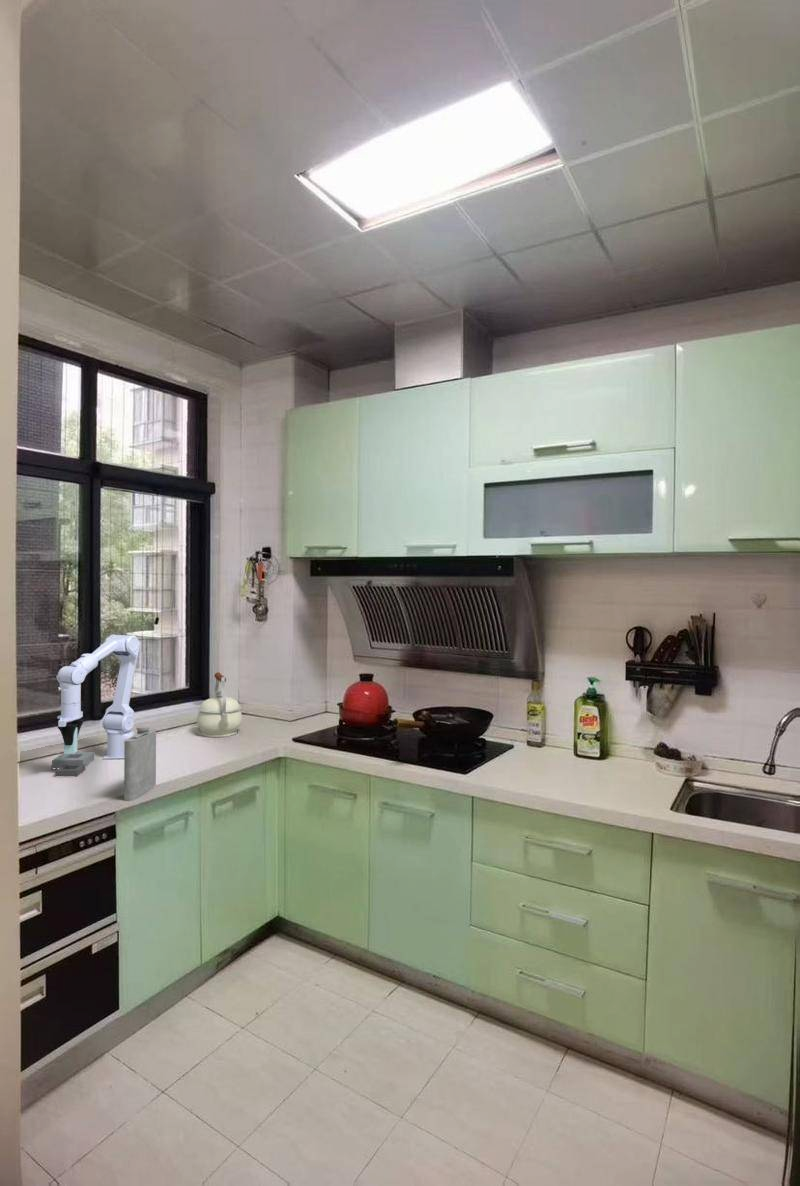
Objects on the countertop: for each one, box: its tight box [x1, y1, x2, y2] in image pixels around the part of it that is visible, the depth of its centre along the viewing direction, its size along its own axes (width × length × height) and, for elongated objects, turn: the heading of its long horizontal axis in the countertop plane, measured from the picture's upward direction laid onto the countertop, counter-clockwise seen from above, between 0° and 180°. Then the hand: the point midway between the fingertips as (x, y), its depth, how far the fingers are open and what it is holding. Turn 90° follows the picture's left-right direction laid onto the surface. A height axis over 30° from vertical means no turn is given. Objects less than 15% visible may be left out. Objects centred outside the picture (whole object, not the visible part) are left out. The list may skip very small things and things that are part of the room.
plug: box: [63, 727, 78, 754], centre depth 206 cm, size 3×3×9 cm
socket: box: [51, 751, 95, 769], centre depth 216 cm, size 10×10×3 cm
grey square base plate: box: [54, 764, 87, 777], centre depth 206 cm, size 7×7×2 cm
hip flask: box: [123, 725, 157, 802], centre depth 189 cm, size 16×4×20 cm, turn 176°
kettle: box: [196, 672, 243, 738], centre depth 261 cm, size 25×18×25 cm
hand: (70, 743), depth 206 cm, fingers closed on plug, 3 cm apart
